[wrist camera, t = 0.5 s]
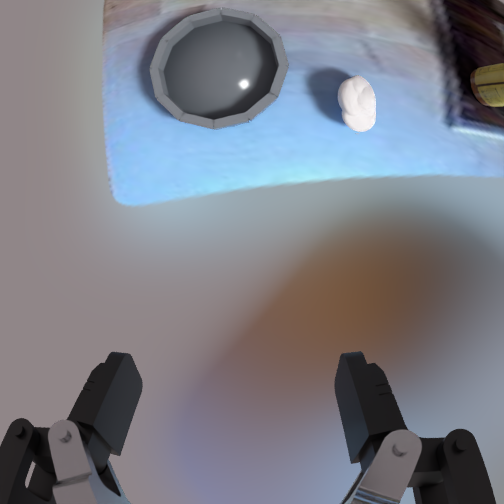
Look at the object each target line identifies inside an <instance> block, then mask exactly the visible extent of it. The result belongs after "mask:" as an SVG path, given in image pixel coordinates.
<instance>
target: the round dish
mask: <svg viewBox="0 0 504 504" xmlns="http://www.w3.org/2000/svg"><path fill="white" fill-rule="evenodd" d="M279 36H280V35H279V34H278V33H277V32H276V31H275V30H274V29H273V28H271V27H270V26H269V25H268V24H267V23H265V22H264V21H263V20H262V19H261V18H259V17H258V16H257V15H255V14H252V13H248V12H243V11H238V10H233V9H228V8H222V9H221V8H217V9H212V10H208V11H204V12H201V13H197V14H193V15H190V16H188V18H187V17H185V18H184V19H183V20H182V21H181V22H179V23H178V24H177V25H176V26H175V27H173V28H172V29H171V30H170V31H169V32H168V33H166V34H165V35H164V36H163V37H162V39H163V40H161V39H160V42H159V44H158V47H157V49H156V52H155V54H154V57H153V60H152V62H151V65H150V68H151V69H149V70H150V74H151V79H152V84H153V89H154V93H155V98H157V100H158V101H159V102H160V103H161V104H162V105H163V106H164V107H165V108H166V109H167V110H168V111H169V112H170V113H171V114H172V115H173V116H174V117H175V118H176V119H177V120H179V121H181V122H185V123H190V124H194V125H198V126H202V127H206V128H210V129H214V130H215V129H216V130H218V129H222V128H226V127H231V126H236V125H239V124H243V123H248V122H249V120H250V121H252V120H253V119H254V118H255V117H257V116H258V115H259V114H260V113H262V112H263V111H264V110H265V109H266V108H267V107H269V106H270V105H271V104H272V103H273V102H275V101H276V99H277V98H278V96H279V93H280V90H281V87H282V84H283V82H284V79H285V76H286V73H287V70H288V68H289V67H288V66H289V64H288V60H287V57H286V53H285V49H284V46H283V42H282V39H281V36H280V37H279Z"/></svg>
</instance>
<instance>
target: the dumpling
mask: <svg viewBox="0 0 504 504" xmlns="http://www.w3.org/2000/svg"><path fill="white" fill-rule="evenodd" d="M338 102H339V105H340V107H341V109H342V118H343V120H344V122H345V124H346V125H347V126H348V127H349V128H351V129H352V130H354V131H358V132H364V131H367V130H369V129H370V128H371V127H372V126H373V125H374V123H375V118H376V111H375V109H376V108H375V107H376V100H375V95H374V91H373V89H372V87H371V86H370V84H369V83H368V82H367V81H366V80H365V79H364V78H363V77H361V76H359V75H356V76H353V77H352V78H350V79H347V80H345V81H344V82H343V83H342V84H341V85H340V87H339V90H338ZM355 134H359V133H355Z"/></svg>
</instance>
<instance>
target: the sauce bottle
mask: <svg viewBox="0 0 504 504" xmlns="http://www.w3.org/2000/svg"><path fill="white" fill-rule="evenodd" d="M470 81H471V88H472V91H473V93H474V95H475V96H476V98H477V100H478V101H479V102H480V103H481V104H484V105H486V106H504V63H502V64H496V65H491V66H485V67H481V68H478V69H477V70H475V71H473V72H472V73H471V75H470Z"/></svg>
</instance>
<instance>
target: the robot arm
mask: <svg viewBox="0 0 504 504" xmlns="http://www.w3.org/2000/svg"><path fill="white" fill-rule="evenodd" d="M141 392H142V379H141V377H140V374H139V372H138V370H137V368H136V365H135V363H134V361H133V358H132V356H131V355H130V354H128V353H119V352H111V353H110V354H109V356H108V358H107V360H106V361H105V363H100V364H99V365H98V366H97V367H96V368H95V369H94V370H93V371H92V372H91V374H90V376H89V378H88V380H87V382H86V383H85V385H84V387H83V390H82V391H81V393H80V395H79V397H78V399H77V401H76V403H75V405H74V407H73V409H72V411H71V413H70V415H69V417H68V418H67V420H60V421H58V422H56V423H54V424H53V425H52V427H51V428H41V427H34V426H33V425H32V424H31V423H30V422H29V421H28V420H26V419H24V418H20V419H16V420H15V421H13V422H12V423H11V425H10V426H9V429H8V430H7V433H6V435H5V437H4V439H3V441H2V444H1V446H0V504H131V503H130V502H129V501H128V499H127V498H126V496H125V494H124V492H123V490H122V488H121V486H120V484H119V481H118V479H117V477H116V475H115V473H114V470H113V468H112V465H111V463H110V461H109V460H108V458H109V455H110V453H111V454H114V455H118V456H120V455H121V451H122V448H123V445H124V442H125V439H126V436H127V433H128V430H129V427H130V424H131V421H132V418H133V415H134V412H135V409H136V407H137V404H138V401H139V398H140V395H141ZM335 394H336V398H337V403H338V407H339V411H340V416H341V420H342V424H343V429H344V432H345V438H346V442H347V447H348V451H349V456H350V461H351V464H352V463H358V462H360V464H361V469H362V470H361V471H360V473H359V475H358V477H357V478H356V480H355V481H354V483H353V485H352V486H351V488H350V489H349V491H348V493H347V494H346V496H345V497H344V499H343V500H342V502H341V503H340V504H399V503H400V500H401V498H402V496H403V494H404V492H405V490H406V487H413V492H414V497H415V502H416V504H496V501H495V497H494V494H493V490H492V487H491V483H490V480H489V476H488V473H487V470H486V467H485V464H484V461H483V458H482V456H481V453H480V450H479V447H478V445H477V442H476V440H475V437H474V436H473V434H472V433H471V432H469V431H467V430H465V429H456V430H453V431H451V432H450V433H449V434H448V435H447V436H446V437H445V438H421V437H418V436H417V435H416V434H415V433H413V432H411V431H409V430H408V429H407V427H406V425H405V423H404V420H403V417H402V415H401V413H400V410H399V407H398V405H397V402H396V400H395V397H394V395H393V394H392V390H391V387H390V385H389V384H388V380H387V378H386V376H385V374H384V371H383V370H382V369H381V368H380V367H378V366H377V365H376V364H375V363H371V364H367V362H366V360H365V357H364V355H363V353H362V352H361V351H359V352H351V353H343V354H341V356H340V360H339V364H338V369H337V373H336V377H335ZM32 461H33V462H34V463H35V464H36V465H35V468H34V471H33V473H32V476H31V480H30V482H29V486H28V488H26V486H25V480H26V477H27V474H28V471H29V468H30V465H31V463H32Z"/></svg>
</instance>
